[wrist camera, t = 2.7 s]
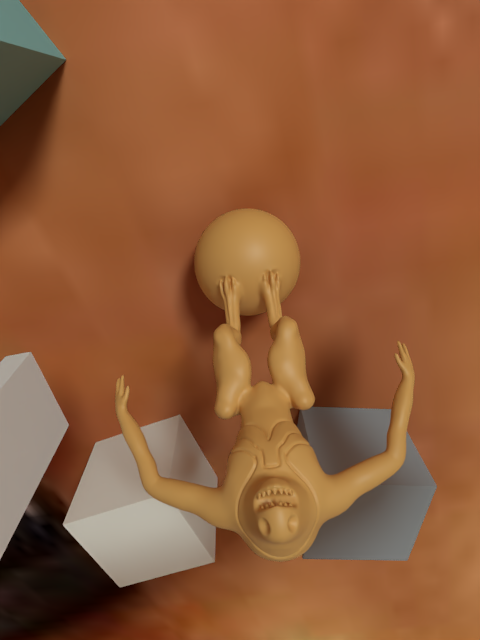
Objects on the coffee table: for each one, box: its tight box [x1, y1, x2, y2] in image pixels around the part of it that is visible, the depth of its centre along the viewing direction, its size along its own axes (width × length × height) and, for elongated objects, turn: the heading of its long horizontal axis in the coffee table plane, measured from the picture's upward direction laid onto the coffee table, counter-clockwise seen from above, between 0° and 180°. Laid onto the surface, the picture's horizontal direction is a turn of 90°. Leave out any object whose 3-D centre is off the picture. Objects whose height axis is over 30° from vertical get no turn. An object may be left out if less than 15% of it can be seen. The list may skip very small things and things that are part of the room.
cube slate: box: [297, 407, 437, 560], centre depth 20 cm, size 5×5×5 cm
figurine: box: [115, 209, 415, 562], centre depth 12 cm, size 8×6×12 cm
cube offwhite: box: [63, 415, 218, 587], centre depth 21 cm, size 5×5×5 cm
